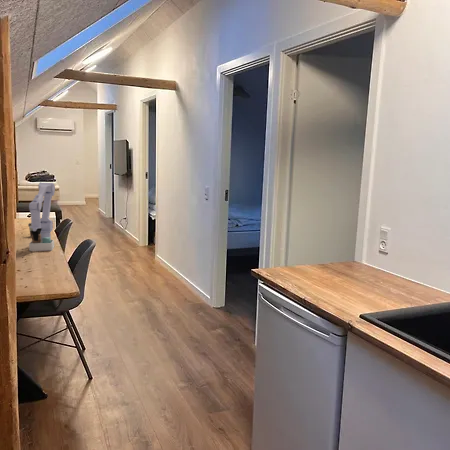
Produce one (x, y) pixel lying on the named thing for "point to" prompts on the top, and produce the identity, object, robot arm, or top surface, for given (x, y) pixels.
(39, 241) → the walnut cube
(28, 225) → the food container
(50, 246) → the tote
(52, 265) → the top surface
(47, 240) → the teal cylinder
